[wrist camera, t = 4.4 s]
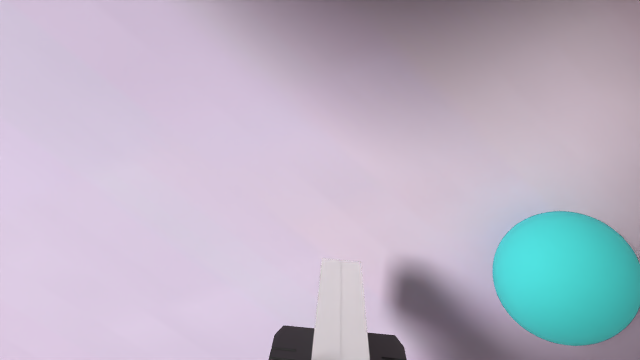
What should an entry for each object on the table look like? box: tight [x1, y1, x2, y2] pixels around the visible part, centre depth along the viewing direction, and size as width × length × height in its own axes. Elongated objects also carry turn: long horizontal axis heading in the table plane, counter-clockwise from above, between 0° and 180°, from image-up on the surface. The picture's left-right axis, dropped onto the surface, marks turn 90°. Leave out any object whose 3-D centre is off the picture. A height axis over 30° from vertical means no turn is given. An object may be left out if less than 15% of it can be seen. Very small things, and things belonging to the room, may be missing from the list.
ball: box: [493, 211, 640, 346], centre depth 18 cm, size 6×6×6 cm
